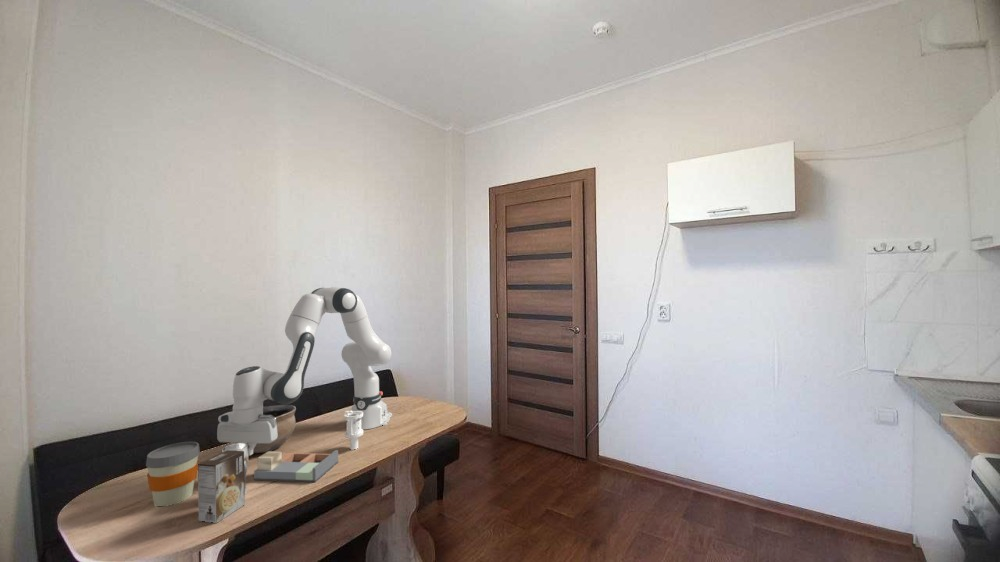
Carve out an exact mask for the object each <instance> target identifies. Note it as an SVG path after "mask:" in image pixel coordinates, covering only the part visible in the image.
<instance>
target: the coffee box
mask: <svg viewBox="0 0 1000 562" xmlns="http://www.w3.org/2000/svg"><path fill="white" fill-rule="evenodd" d="M197 484H198V485H197V486H198V487H197V488H198V489H197V490H198V493H197V494H198V497H197V498H198V521H199V522H202V521H205V522H204V523H211V522H213V523H212V524H217V522H218V523H219V522H222V520H224V519H225V518H227V517H228V516H230V515H231V514H233V513H235V512H236V511H237V510H239V509H240V508H242V507H244V506H245V505H246V494H245V484H246V478H245V475H244V451H230V450H227V451H224V452H222V451H221V452H220V453H218V454H216V455H213V456H211V457H210V458H207V459H205V460H204V461H201V462H199V464H198V471H197ZM243 505H244V506H243Z"/></svg>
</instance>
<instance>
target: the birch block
mask: <svg viewBox="0 0 1000 562" xmlns="http://www.w3.org/2000/svg"><path fill="white" fill-rule="evenodd" d="M282 453H283V452H282V451H268V452H264V453H262V454H261V455H260V456H259V457H257V469H258V470H272V469H274V468H275V467H277V466H278V465H280V464H281V463H282Z"/></svg>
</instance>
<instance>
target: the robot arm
mask: <svg viewBox="0 0 1000 562" xmlns="http://www.w3.org/2000/svg"><path fill="white" fill-rule="evenodd" d="M325 313H329V314H334V313H335V314H340V317H341V320H342V321H341V322H342V324H343V327H344V329H345V333H346V336H347V337H348V338H349V339H350V340H351V341H353V342H348V343H346V344H345V345H344V346H343V348H342V349H341V358H342V360H343V362H344V363H345V364H346V365H347V366H348V368H349V369H350V372H351V375H352V378H353V385H354V387H353V388H354V390H353V391H354V395H353V398H352V399H353V401H352V402H353V405H352V406H351V408H350V409H351V410H350V411H362V412H363V417H361V429H363V430H371V429H375V428H378V427H383V426H387V425H388V423H389V421H390V420H391V418H390V417H392V416H393V413H392V412H390V411H388V405H387V404H386V402H384V400H382V396H383V391H381V390H380V378H379V376H378V374H377V373H376V372H374V370H373V368H372V367H380V366H385V365H387V364H388V363H389V362H390V360H391V359H392V355H393V353H392V348H391V346H390V345H388V344H387V343H385V342H384V341H383V340H382V339H381V338H380V337H379V336H378V335H377V334H376V332H375V331H374V329H373V326H372V324H371V321H370V317H369V315H368V314H369V313H368V311H367V308H366V307H365V304H364V302H363V300H362V298H361V297H360V296H359V295H358V294H355V292H354V291H352V290H351V289H349V288H345V287H336V286H335V287H334V286H331V287H319V288H315V289H314V290H313V291H312V292H310V293H306V294H304V295H302V296H301V297H300V299H299V300H298V301H297V303H296V304H295V306H294V307H293V309H292V310H291V313H290V315H289V317H288V319H287V321H286V325H285V328H284V332H285V336H286V337H287V339H288V340H289V341H290V342H291V345H292V347H293V349H292V353H291V356H290V360H289V362H288V366H287V368H286V371H284V373H283V372H278V371H272V370H267V369H264V368H262V367H261V366H258V365H257V366H248V367H245V368H242V369H240V370H239V371H237V372H236V373H235V375H234V380H233V385H232V398H233V405H232V410H231V411H228V412H225V413H223V414H221V415H219V416H218V419H217V420H218V422H219V423H218V424H217V429H216V431H217V432H216V436H217V437H216V438H217V441H218V442H219V443H233V444H235V443H248V445H249V446H250V447H249V448H248V456H252V455H253V454H254V453H253V449H254V447H255V446H256V444H257V443H271V442H273V441H275V440H276V439H277V437H278V433H277V425H276V418H275V417H273V416H272V415H263V407H264V401H266V400H270V401H274V402H276V403H278V404H279V405H292V404H293V403H295V402H296V401H297V400H298V399H300V397H301V395H302V394H303V391H304V387H305V375H306V372H307V369H308V366H309V362H310V359H311V357H312V354H313V350H314V347H315V339H316V338H315V337H316V333H317V330H318V328H319V325H320V323H321V320H322V318H323V316H324V314H325ZM359 415H360V414H359ZM350 416H356V414H353V415H350ZM353 420H354V419H353ZM387 422H388V423H387ZM382 425H383V426H382Z"/></svg>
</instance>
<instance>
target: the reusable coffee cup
mask: <svg viewBox="0 0 1000 562" xmlns="http://www.w3.org/2000/svg"><path fill="white" fill-rule="evenodd" d="M200 453H201V452H200V444H199V443H198V442H196V441H184V442H183V441H182V442H176V443H171V444H169V445H165V446H162V447H158V448H156V449H154V450H152V451H150V452H148V454H147V456H146V461H145V462H146V463H145V467H146V468H147V471H148V472H147V474H146V476H147V477H146V478H147V483H148V488H149V491H151V494H152V500H153V505H154V506H155V505H156V506H155V507H157V506H165V507H168V506H167V505H170V506H172V505H171V504H174V505H176V504H175V503H177V504H179V503H182V502H184V501H186V500H188V499H189V498H191V496H192V495H193V492H194V486H195V479H196V478H198V464H199V463H200V461H199V460H198V459H199V455H200ZM187 498H188V499H187ZM185 499H186V500H185ZM183 500H184V501H183ZM181 501H182V502H181ZM178 502H179V503H178Z"/></svg>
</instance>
